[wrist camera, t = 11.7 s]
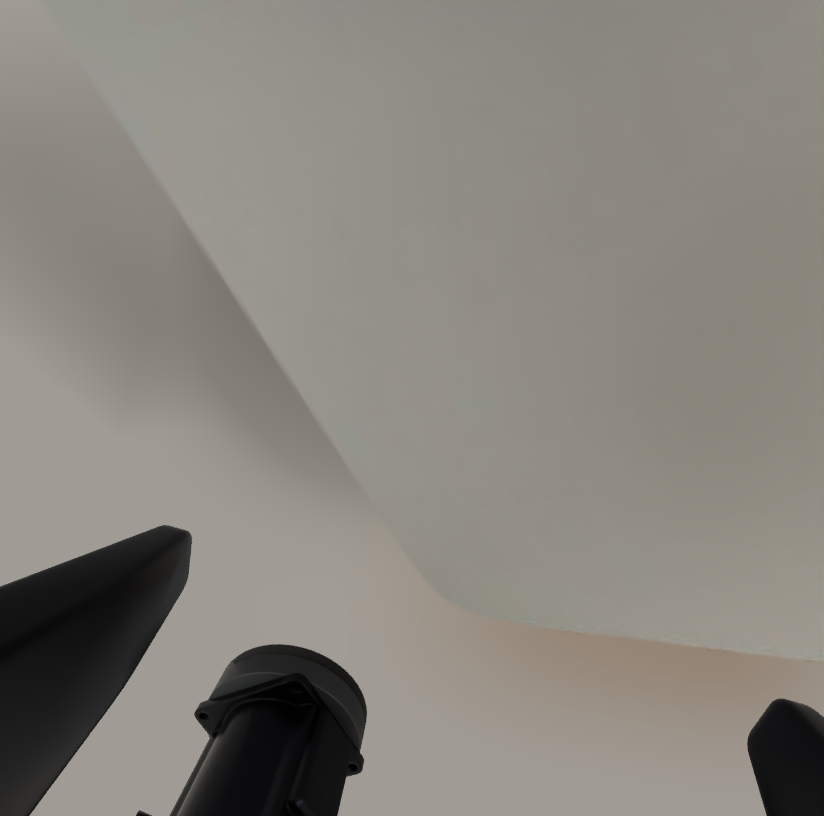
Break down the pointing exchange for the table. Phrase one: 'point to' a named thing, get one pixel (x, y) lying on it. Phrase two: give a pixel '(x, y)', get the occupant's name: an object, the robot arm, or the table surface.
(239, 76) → the table surface
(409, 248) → the table surface
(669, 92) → the table surface
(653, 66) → the table surface
